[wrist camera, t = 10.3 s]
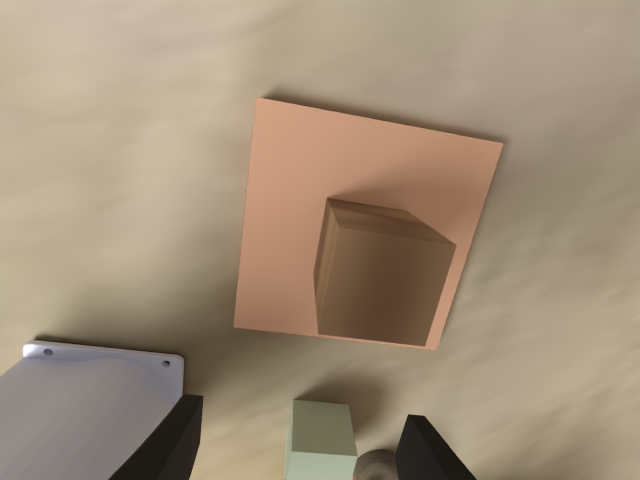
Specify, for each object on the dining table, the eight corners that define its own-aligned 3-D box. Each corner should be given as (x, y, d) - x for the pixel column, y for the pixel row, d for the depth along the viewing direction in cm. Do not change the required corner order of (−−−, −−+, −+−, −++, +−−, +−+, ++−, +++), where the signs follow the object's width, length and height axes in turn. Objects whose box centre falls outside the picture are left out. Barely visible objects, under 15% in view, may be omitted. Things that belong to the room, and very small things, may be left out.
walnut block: (313, 273, 18) (318, 334, 13) (326, 197, 17) (339, 227, 11) (387, 283, 19) (424, 346, 13) (406, 210, 18) (456, 245, 12)
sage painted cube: (285, 441, 24) (282, 499, 20) (293, 398, 22) (291, 451, 19) (338, 445, 24) (344, 502, 20) (348, 403, 23) (357, 456, 19)
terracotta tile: (236, 318, 20) (233, 327, 19) (258, 99, 16) (256, 97, 15) (430, 341, 21) (436, 350, 21) (492, 143, 18) (503, 143, 17)
